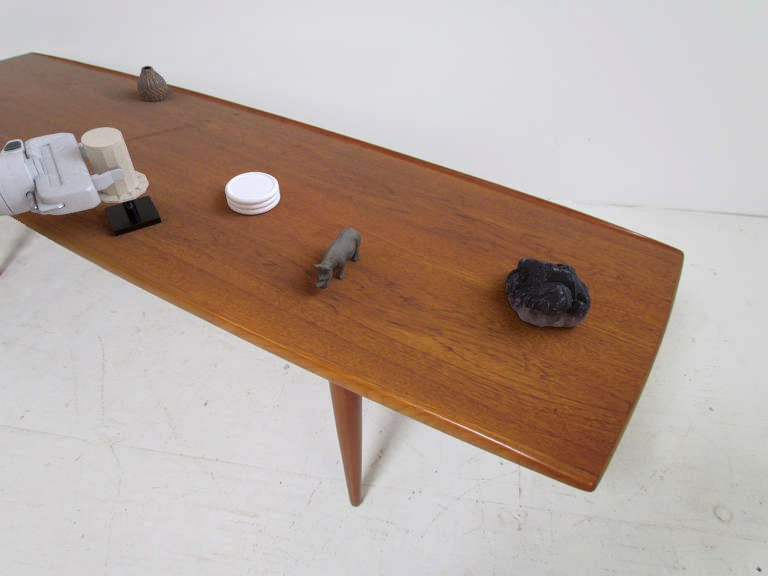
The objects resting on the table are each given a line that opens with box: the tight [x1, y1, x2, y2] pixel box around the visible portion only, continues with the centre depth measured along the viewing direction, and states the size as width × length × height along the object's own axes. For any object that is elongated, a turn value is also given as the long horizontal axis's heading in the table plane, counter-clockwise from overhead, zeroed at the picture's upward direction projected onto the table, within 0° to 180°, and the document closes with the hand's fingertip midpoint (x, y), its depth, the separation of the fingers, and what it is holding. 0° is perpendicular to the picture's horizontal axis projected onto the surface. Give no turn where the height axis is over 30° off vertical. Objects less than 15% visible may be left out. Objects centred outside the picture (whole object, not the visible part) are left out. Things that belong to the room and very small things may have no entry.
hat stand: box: [104, 195, 163, 237], centre depth 86 cm, size 8×8×16 cm
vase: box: [136, 65, 170, 103], centre depth 121 cm, size 7×7×9 cm
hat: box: [80, 126, 150, 204], centre depth 84 cm, size 9×9×10 cm
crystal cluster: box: [503, 257, 592, 328], centre depth 76 cm, size 13×14×10 cm
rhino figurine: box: [312, 227, 362, 290], centre depth 81 cm, size 4×14×6 cm, turn 155°
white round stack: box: [224, 171, 281, 216], centre depth 95 cm, size 10×10×4 cm
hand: (116, 158), depth 84 cm, fingers open, 8 cm apart
